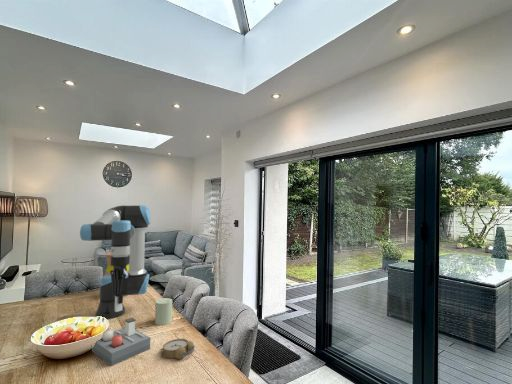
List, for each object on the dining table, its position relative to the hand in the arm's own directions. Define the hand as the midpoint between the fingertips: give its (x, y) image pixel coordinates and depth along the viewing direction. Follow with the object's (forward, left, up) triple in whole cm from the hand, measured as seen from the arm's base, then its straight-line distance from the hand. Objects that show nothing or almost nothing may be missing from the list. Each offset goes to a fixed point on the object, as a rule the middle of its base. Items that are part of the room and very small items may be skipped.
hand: (118, 310), depth 119 cm
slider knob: (-4, +8, -14) cm, 16 cm away
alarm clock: (+19, +18, -20) cm, 33 cm away
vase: (-81, +41, -19) cm, 93 cm away
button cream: (-8, 0, -15) cm, 17 cm away
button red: (0, 0, -15) cm, 15 cm away
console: (-4, +4, -19) cm, 20 cm away
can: (-15, +33, -19) cm, 41 cm away
